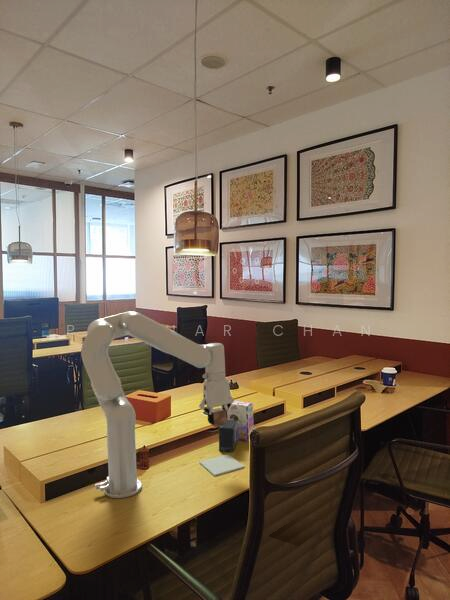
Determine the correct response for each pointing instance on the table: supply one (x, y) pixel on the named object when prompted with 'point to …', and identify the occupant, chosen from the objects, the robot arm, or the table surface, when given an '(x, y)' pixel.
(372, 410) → the table surface
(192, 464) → the table surface
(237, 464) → the mat
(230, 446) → the small box
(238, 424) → the candy box
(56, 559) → the table surface
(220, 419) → the cube
